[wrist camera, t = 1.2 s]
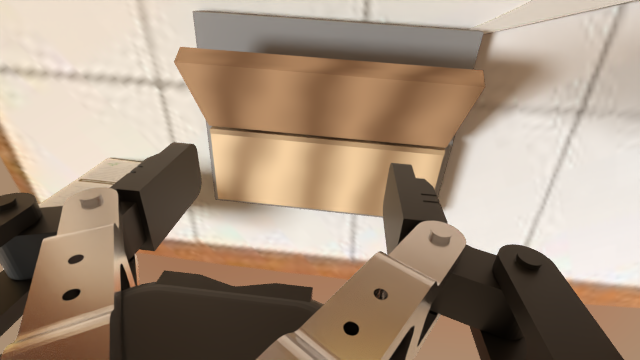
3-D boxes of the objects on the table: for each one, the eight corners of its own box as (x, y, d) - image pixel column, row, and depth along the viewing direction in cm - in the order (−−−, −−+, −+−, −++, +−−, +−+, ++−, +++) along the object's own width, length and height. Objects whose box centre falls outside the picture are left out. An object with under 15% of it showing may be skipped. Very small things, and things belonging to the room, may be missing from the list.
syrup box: (106, 156, 37) (-22, 238, 25) (156, 163, 37) (53, 249, 25) (117, 198, 40) (7, 291, 28) (164, 204, 40) (74, 301, 28)
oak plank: (441, 143, 31) (445, 150, 30) (423, 212, 35) (426, 221, 34) (215, 122, 33) (209, 128, 31) (223, 191, 37) (217, 199, 35)
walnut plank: (483, 70, 23) (485, 87, 23) (445, 133, 30) (446, 147, 30) (180, 46, 25) (174, 62, 24) (213, 112, 32) (209, 125, 31)
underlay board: (479, 30, 27) (483, 31, 26) (428, 216, 37) (430, 222, 36) (198, 10, 29) (192, 11, 28) (219, 193, 38) (215, 199, 37)
